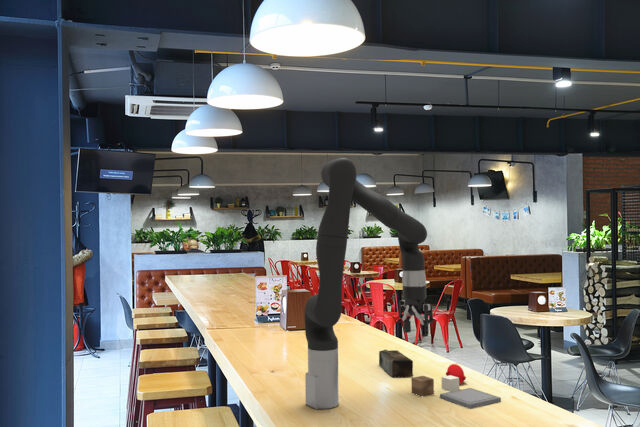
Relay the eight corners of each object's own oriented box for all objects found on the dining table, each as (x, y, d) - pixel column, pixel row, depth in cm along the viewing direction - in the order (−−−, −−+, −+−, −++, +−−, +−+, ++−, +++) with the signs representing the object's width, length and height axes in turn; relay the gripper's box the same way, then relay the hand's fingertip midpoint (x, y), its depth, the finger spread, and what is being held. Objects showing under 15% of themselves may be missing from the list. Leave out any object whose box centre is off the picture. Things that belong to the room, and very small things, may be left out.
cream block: (450, 391, 196) (449, 379, 196) (441, 389, 200) (441, 376, 200) (459, 390, 198) (459, 377, 198) (450, 387, 202) (450, 375, 202)
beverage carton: (398, 365, 234) (398, 348, 234) (413, 377, 215) (413, 359, 215) (378, 366, 233) (378, 348, 233) (392, 379, 214) (392, 360, 214)
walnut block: (421, 397, 191) (421, 381, 191) (411, 393, 195) (411, 377, 195) (433, 394, 193) (433, 378, 193) (423, 390, 198) (423, 375, 198)
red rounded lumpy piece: (443, 370, 212) (442, 364, 207) (459, 364, 211) (458, 358, 207) (452, 391, 207) (451, 386, 202) (468, 385, 207) (468, 380, 202)
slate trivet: (469, 408, 178) (469, 404, 178) (439, 397, 189) (439, 393, 189) (500, 401, 185) (500, 397, 185) (470, 391, 196) (470, 387, 196)
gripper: (391, 283, 199) (393, 332, 199) (419, 287, 187) (421, 339, 187) (409, 281, 203) (410, 329, 203) (438, 284, 190) (439, 336, 190)
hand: (416, 334), depth 195 cm, fingers open, 8 cm apart
